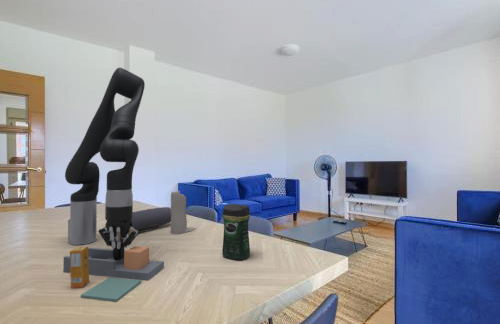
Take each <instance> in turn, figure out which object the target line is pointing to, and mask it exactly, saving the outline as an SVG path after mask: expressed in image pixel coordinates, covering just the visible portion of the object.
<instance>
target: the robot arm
mask: <svg viewBox="0 0 500 324" xmlns="http://www.w3.org/2000/svg"><path fill="white" fill-rule="evenodd" d="M111 75H112V76H111V78H110V79H109V82H108V85H107V87H106V89H105V92H104V95H103V97H102V99H101V102H100V104H99V106H98V108H97V110H96V112H95V114H94V116H93V118H92V119H91V122H90V124H89V126H88V127H87V129H86V132H85V134H84V137H83V139H82V140H81V143H80V145H79V146H78V148H77V150H76V151H75V153H74V155H73V156H72V157H71V159H70V161H69V162H68V164H67V167H66V168H65V172H64V177H65V181H66V183H68V184H70V185H82V186H81V188H80V189H79V190H77V191H75V192H73V193H71V194H70V197H69V198H70V203H69V204H70V213H69V214H70V215H69V219H68V220H67V243H68V244H70V245H75V246H79V245H87V244H88V245H89V244H91V243H94V242H96V241H97V229H98V227H97V224H98V223H97V221H98V220H97V218H98V217H97V216H98V215H97V214H98V211H97V205H98V201H97V200H98V198H97V197H98V195H99V191H100V187H99V186H100V176H101V175H100V168H99V166H98V164H97V163H96V162H93V161H91V160H92V159H93V157H95V156H96V155H97V154H98V153H99V154H100V157H101V159H102V160H103V161H104V162H108V163H125V164H124V165H123V167H120V168H117V169H113V170H109V171H108V172H107V174H106V193H105V204H104V205H105V209H104V211H105V213H104V214H105V218H104V219H105V221H106V222H105V226H104V227H103V228H100V229H99V230H98V233H99V235H100V237H101V238H102V240H103V241H104V242H105V245H106V246H107V247H112V249H113V258H114V260H116V261H120V260H122V259H123V257H124V250H125V248H126V247H128V246H130V245H131V244H132V243H133V241H134V240H135V239H136V237H137V236H138V235H139V234H140V231H139V230H135V229H134V228H133V224H132V221H131V220H132V215H133V212H134V211H133V207H134V206H133V205H134V204H133V202H134V201H133V198H134V197H133V196H134V195H133V172H134V167H135V165H136V161H137V158H138V155H139V150H140V149H139V145H138V143H137V142H136V141H135V140H133V138H134V136H135V129H136V122H137V121H136V120H137V119H136V118H137V116H138V115H137V114H138V112H139V109H140V105H141V101H142V98H143V95H144V90H145V86H146V85H145V80H144V79H143V78H142V77H140V76H138V75H136V74H134V73H133V72H130V71H129V70H127V69H125V68H123V67H117V68H116V69H115V70H114V71H113V73H112V74H111ZM117 94H118V95H120V96H122V97H124V98H127V99H129V100H130V101H129V102H127V103H125V104H124V105H122V106H120V107H118V109H116V108H115V97H116V95H117ZM129 231H130V232H129Z"/></svg>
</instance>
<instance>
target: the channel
mask: <svg viewBox="0 0 500 324" xmlns="http://www.w3.org/2000/svg"><path fill="white" fill-rule="evenodd" d="M124 251H126V250H125V249H124ZM88 258H89V276H99V277H101V276H102V277H108V278H109V277H112V278H122V279H132V280H141V281H149V280H151V278H153V277H154V276H156V275H157V274H158V273H159V272H161V271H162V270H163V269H165V261H164V260H163V261H162V260H154V259H153V260H152V259H151V260H150V259H149V264H147V265H146V266H144V267H143V268H141V269H140V270H137V269H126V268H124V257H123V259H122V260H120V261H116V260H114V258H113V248H112V249H109V248H100V247H98V248H96V247H88ZM63 273H68V274H69V273H70V255H66V256H63Z"/></svg>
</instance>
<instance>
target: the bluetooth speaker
mask: <svg viewBox="0 0 500 324" xmlns="http://www.w3.org/2000/svg"><path fill="white" fill-rule="evenodd" d="M131 221H132V224H133V228H134V229H135V230H139V232H140V231H142V232H146V230H148V231H151V229H152V230H156V229H159V228H160V226H164V225H167V224H171V207H168V206H166V207H165V206H163V207H156V208H147V209H142V210H137V211H133V215H132V220H131ZM129 232H130V231H129Z"/></svg>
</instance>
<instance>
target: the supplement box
mask: <svg viewBox="0 0 500 324" xmlns="http://www.w3.org/2000/svg"><path fill="white" fill-rule="evenodd" d="M88 248H89V246H78V247H75V248H73V249H72V250H70V251H69V256H70V289H78V288H85V286H87V284H88V283H90V275H89V258H88Z"/></svg>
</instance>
